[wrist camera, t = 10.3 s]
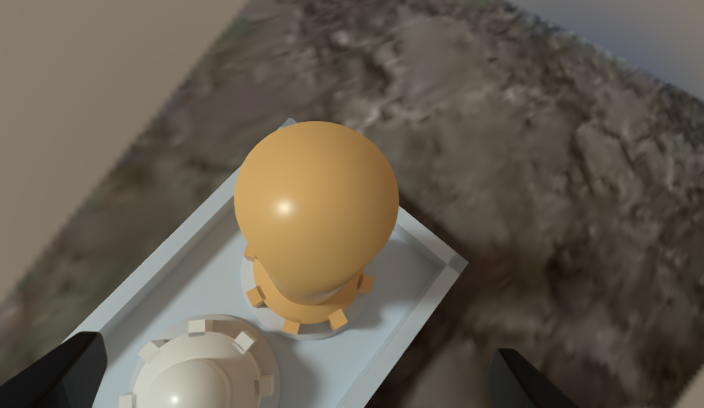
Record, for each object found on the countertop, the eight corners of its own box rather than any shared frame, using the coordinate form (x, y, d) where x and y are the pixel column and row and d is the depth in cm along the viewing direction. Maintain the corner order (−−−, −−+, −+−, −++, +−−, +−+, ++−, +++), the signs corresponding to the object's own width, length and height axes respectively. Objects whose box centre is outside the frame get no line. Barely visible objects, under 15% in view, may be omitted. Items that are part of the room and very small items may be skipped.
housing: (223, 580, 19) (197, 664, 14) (33, 397, 20) (-49, 418, 15) (452, 268, 24) (488, 254, 19) (291, 137, 25) (289, 93, 20)
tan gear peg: (350, 349, 21) (423, 382, 8) (228, 314, 21) (120, 295, 8) (381, 231, 23) (477, 115, 10) (269, 198, 23) (230, 40, 10)
